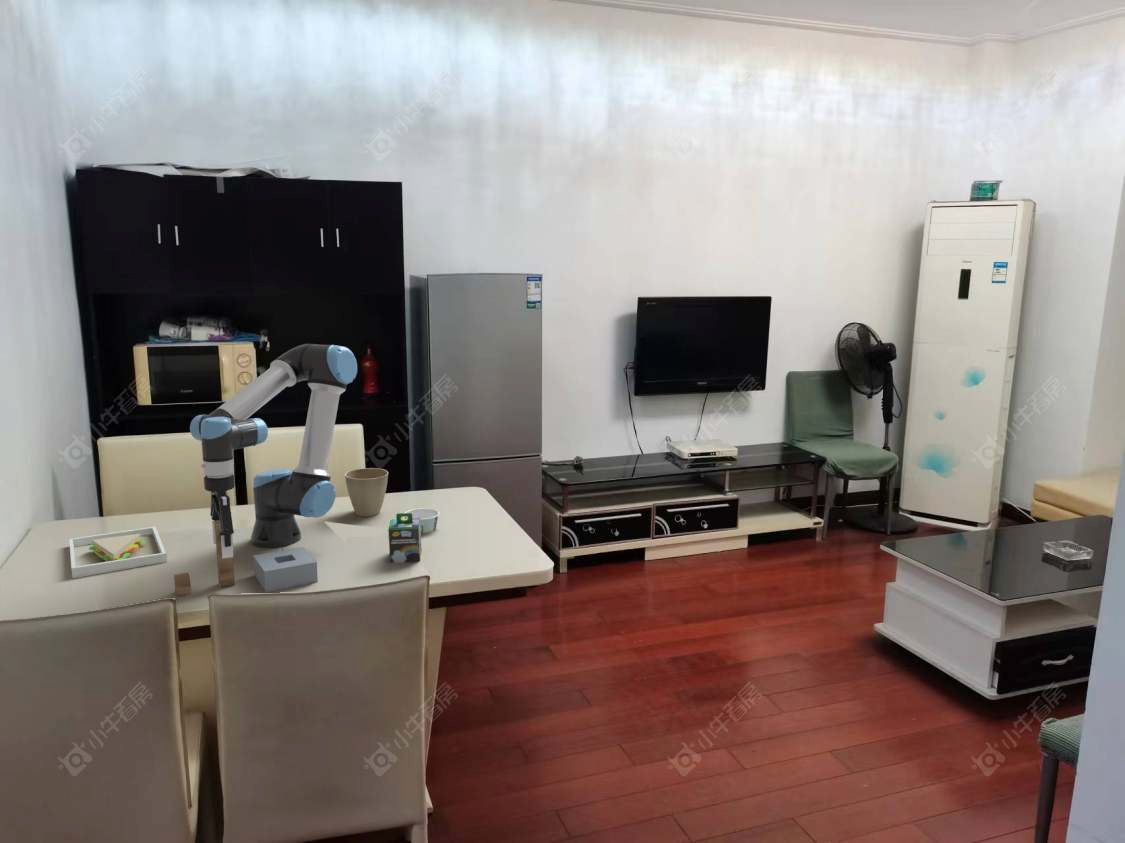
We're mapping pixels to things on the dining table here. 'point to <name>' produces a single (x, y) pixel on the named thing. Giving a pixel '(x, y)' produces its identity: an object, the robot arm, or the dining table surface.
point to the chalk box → (405, 539)
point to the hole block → (285, 569)
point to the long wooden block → (223, 562)
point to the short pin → (182, 584)
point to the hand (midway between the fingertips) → (223, 550)
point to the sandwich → (116, 547)
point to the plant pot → (366, 490)
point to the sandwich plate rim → (117, 564)
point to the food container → (425, 518)
